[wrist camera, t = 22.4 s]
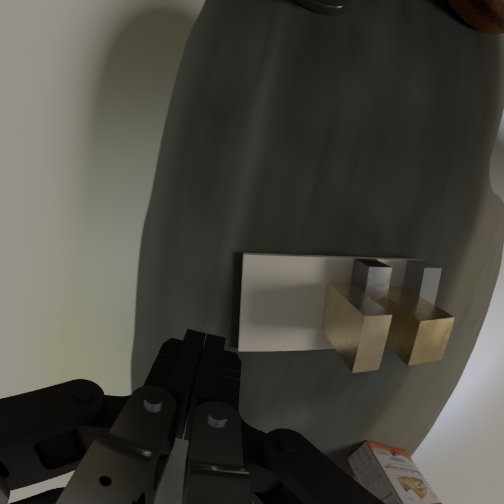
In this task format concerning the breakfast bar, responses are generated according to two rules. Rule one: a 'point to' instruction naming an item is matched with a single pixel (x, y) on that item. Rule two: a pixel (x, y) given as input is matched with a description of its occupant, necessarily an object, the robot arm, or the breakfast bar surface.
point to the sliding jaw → (359, 315)
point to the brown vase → (481, 14)
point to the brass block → (416, 327)
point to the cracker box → (390, 475)
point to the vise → (307, 296)
